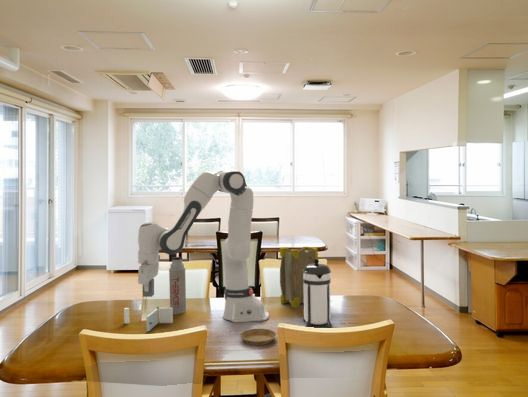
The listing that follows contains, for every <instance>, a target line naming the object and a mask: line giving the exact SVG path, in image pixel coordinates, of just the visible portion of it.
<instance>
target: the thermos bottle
mask: <svg viewBox="0 0 528 397" xmlns="http://www.w3.org/2000/svg"><path fill="white" fill-rule="evenodd" d="M171 259H172V260H171V264H170V267H169V268H168V270H169V271H168V274H169V275H168V276H169V277H168V278H169V307H172V309H173V315H181V314H185V313H187V297H186V295H187V294H186V267H185V265H184V262H183V257H182V256H173V257H171Z"/></svg>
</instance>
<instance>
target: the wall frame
mask: <svg viewBox="0 0 528 397" xmlns="http://www.w3.org/2000/svg"><path fill="white" fill-rule="evenodd" d="M156 309H158V317H159V324H173V323H174V322H173V321H174V319H173V318H174V317H173V316H174V314H173V309H172V307H170V306H168V307H159V306H156ZM123 316H124V317H123V318H124V319H123V320H124V321H123V322H124V324H130V308H129V307H124V309H123Z"/></svg>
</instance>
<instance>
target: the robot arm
mask: <svg viewBox="0 0 528 397" xmlns="http://www.w3.org/2000/svg"><path fill="white" fill-rule="evenodd" d="M218 191H219V192H220V193H226V194H229V195H230V207H229V215H228V223H227V224H228V225H227V226H228V231H227V233H228V234H227V238H225V240H224V242H223V244H222V245H223V246H222V247H223V248H222V249H223V250H222V251H223V260H224V273H225V287H224V299H225V302H224V308H223V309H224V310H223V314H222V318H223V319H224V320H228V321H231V322H233V323H249V322H250V323H251V322H261V321H266V320H268V319H269V318H270V313H269V312H268V310H265V306H264V303H263V301H262V300H260V299H259V298H257V297H256V296H255V295H254V290H253V288H252V287H250V286H249V271H248V264H247V262H248V261H247V259H248V258H249V257H250V255H251V243H252V242H251V239H252V236H251V235H252V233H251V231H252V230H251V229H252V221H253V220H252V218H253V212H254V211H253V210H254V192H253V191H254V190H252V188H250V187H249V186H247V182H246V178H245V176H244V174H243V173H242V172H241V171H240V170H236V169H225V170H220V171H218V172H216V173H214V172H212V171H209V170H204V171H203V172H201V173H200V175H199V176H197V178H196V179H195V180H194V181H193V182H192V184H191V185H190V187H189V188H188V189H187V191H186V193H185V194H184V195H185V196H184V198H183V204H184V205H183V211H182V213H181V215H180V217H179V218H178V220H177V221H176V223H175V225H174V226H173V227H172V228H171V229H170V228H166V227H165V226H162V225H161V224H158V223H157V222H155V221H152V222H150V221H149V222H146V223H143V224H141V225H140V227H139V229H138V232H137V234H138V236H137V237H138V238H137V240H138V241H137V244H138V251H137V257H138V258H137V262H138V263H137V264H140V266H138V272H137V273H138V274H137V278H138V279H137V282H138V284H139V285H142V286H143V285H144V291H145V292H148V291H149V281H150V280H152V279H154V278H156V277H157V276H158V274H159V268H160V266H159V265H160V264H159V263H160V260H161V255H160V250H161V251H162V252H164V253H165V254H166V255H170V256H172V255H173V256H174V255H177V254H178V253H180V252H181V251H182V250H183V248H184V246H185V242H186V240H185V239H186V236H187V234H188V233H189V231H190V230H191V227H192V226H193V224H195V221H196V219H197V218H198V216H199V215H200V214H201V213H202V211H204V209H205V208H206V206H207V205H208V203H209V202H210V201H211V200H212V199H213V196H214V195H215V194H216V192H218Z"/></svg>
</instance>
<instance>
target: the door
mask: <svg viewBox="0 0 528 397" xmlns="http://www.w3.org/2000/svg"><path fill="white" fill-rule="evenodd" d="M145 318H146V321H145V322H146V331H147V332H149V331H151V330H152V329H153V328H155V326H157V325H158V324H160V316H159V317H158V309H157V308H156V309H154V310H153V311H152V312H150V313H149V314H147V316H146V317H145Z"/></svg>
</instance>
